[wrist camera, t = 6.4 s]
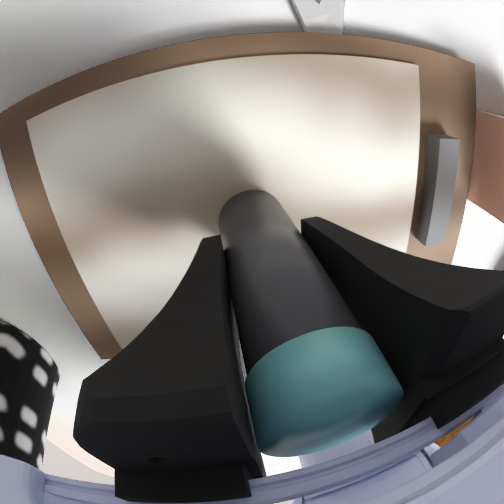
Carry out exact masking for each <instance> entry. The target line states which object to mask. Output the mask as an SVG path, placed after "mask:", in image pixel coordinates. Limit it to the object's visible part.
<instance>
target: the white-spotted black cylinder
mask: <svg viewBox="0 0 504 504" xmlns="http://www.w3.org/2000/svg"><path fill="white" fill-rule="evenodd" d="M58 381H59V371H58V368H57V366H56V364H55V362H54V361H53V359H52V358H51V357H50V355H49V354H48V353H47V352H46V351H45V350H44V349H43V348H42V347H41V346H40V345H39V344H38V343H37V342H36V341H35V340H33V339H32V338H31V337H29V336H28V335H27V334H25V333H24V332H22V331H21V330H19V329H17V328H16V327H14V326H12V325H10V324H8V323H5V322H2V321H0V455H4V456H7V457H10V458H13V459H17V460H20V461H23V462H25V463H28V464H30V465H32V466H34V467H36V468H38V469H39V470H41V471H42V463H43V455H44V448H45V442H46V436H47V430H48V425H49V420H50V415H51V410H52V406H53V401H54V397H55V393H56V389H57V385H58Z"/></svg>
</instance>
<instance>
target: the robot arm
mask: <svg viewBox="0 0 504 504" xmlns="http://www.w3.org/2000/svg"><path fill="white" fill-rule="evenodd" d="M301 235H302V236H303V237H304V239H305V240H306V242H307V243H308V245H309V246H310V248H311V249H312V251H313V252H314V254H315V256H316V257H317V259H318V260H319V262H320V263H321V265H322V266H323V268H324V269H325V271H326V272H327V274H328V275H329V277H330V279H331V280H332V282H333V283H334V285H335V286H336V288H337V290H338V291H339V293H340V294H341V296H342V298H343V299H344V301H345V302H346V304H347V306H348V307H349V309H350V310H351V312H352V314H353V315H354V317H355V319H356V320H357V322H358V323H359V325H360V327H361V328H362V330H364V331H366V332H367V333H369V334H370V335H371V336H372V338H373V339H374V341H375V342H376V344H377V346H378V347H379V349H380V351H381V352H382V354H383V356H384V358H385V359H386V361H387V363H388V364H389V366H390V368H391V369H392V371H393V373H394V375H395V376H396V378H397V380H398V382H399V383H400V385H401V387H402V389H403V391H404V395H403V398H402V400H401V402H400V403H399V405H398V406H397V407H396V409H395V410H394V411H393V412H392V413H391V414H390V415H389V416H388V417H386V418H385V419H384V420H383V421H382V422H380V423H379V424H377V425H376V426H375V427H373V428H372V429H370V430H368V431H367V432H365V433H363V434H361V435H360V436H358V437H356V438H354V439H352V440H350V441H347V442H345V443H343V444H340V445H338V446H335V447H332V448H329V449H326V450H323V451H319V452H315V453H311V454H306V455H300V456H299V458H300V462H301V465H302V469H298V470H294V471H290V472H286V473H282V474H277V475H272V476H268V477H266V472H265V468H264V464H263V460H262V456H261V452H260V451H259V449H258V447H257V443H256V438H255V434H254V429H253V425H252V420H251V415H250V410H249V406H248V401H247V396H246V391H245V382H244V378H243V373H242V368H241V361H240V352H239V341H238V330H237V324H236V319H235V313H234V308H233V303H232V298H231V292H230V287H229V281H228V273H227V265H226V259H225V254H224V249H223V244H222V239H221V234H220V235H215V236H211V237H206V238H203V239H202V240H201V242H200V244H199V247H198V249H197V251H196V254H195V256H194V258H193V260H192V262H191V264H190V266H189V268H188V270H187V271H186V273H185V275H184V277H183V278H182V280H181V282H180V283H179V285H178V287H177V288H176V290H175V291H174V293H173V294H172V296H171V297H170V299H169V300H168V302H167V303H166V304H165V306H164V307H163V308H162V310H161V311H160V312H159V313H158V314H157V315H156V316H155V317H154V319H153V320H152V321H151V322H150V323H149V324H148V325H147V326H146V327H145V328H144V330H143V331H142V332H141V333H140V334H139V335H138V336H137V337H136V338H135V339H134V340H132V341H131V342H130V343H129V344H128V345H127V346H126V347H125V348H124V349H123V350H121V351H120V352H119V353H118V354H117V355H116V356H114V357H113V358H112V359H111V360H109V361H108V362H107V363H105V364H104V365H103V366H101V367H100V368H99V369H98V370H96V371H95V372H94V373H92V374H91V375H90V376H88V377H87V378H85V379H84V380H83V382H82V385H81V389H80V393H79V398H78V403H77V409H76V416H75V422H74V429H73V437H74V439H75V440H76V442H77V443H78V444H79V446H80V447H81V448H83V449H84V450H85V451H87V452H88V453H89V454H91V455H93V456H94V457H96V458H97V459H99V460H101V461H102V462H104V463H106V464H107V465H109V466H111V467H113V468H114V469H115V485H108V484H100V483H92V482H85V481H79V480H72V479H67V478H62V477H58V476H53V475H49V474H45V473H43V472H42V471H41V470H39V469H38V468H36V467H34V466H32V465H30V464H28V463H25V462H23V461H20V460H17V459H13V458H10V457H7V456H4V455H0V504H274V503H279V502H283V501H287V500H292V499H294V500H293V502H292V503H291V504H504V339H503V338H502V337H503V335H504V271H497V270H486V269H474V268H468V267H461V266H455V265H450V264H445V263H440V262H436V261H432V260H428V259H424V258H420V257H417V256H413V255H410V254H407V253H404V252H401V251H398V250H395V249H392V248H390V247H387V246H384V245H382V244H380V243H377V242H375V241H372V240H370V239H368V238H365V237H363V236H361V235H359V234H356V233H354V232H352V231H350V230H348V229H346V228H343V227H341V226H339V225H337V224H335V223H333V222H330V221H328V220H326V219H323V218H321V217H318V216H315V217H310V218H304V219H301ZM472 417H473V418H472ZM471 418H472V421H471V422H470V423H469V424H468V425H466V426H465V427H464V428H462V429H461V430H460V431H459V432H458V433H457V434H456V435H455V436H454V437H453V438H452V439H451V440H449V441H448V442H447V443H446V444H445V445H443V446H442V447H441V448H440V447H439V446H438V445H437V444H435V443H434V442H436V441H437V440H439V439H441V438H442V437H444V436H446V435H447V434H449V433H450V432H452V431H453V430H455V429H457V428H458V427H460V426H461V425H462V424H464V423H465V422H467V421H468V420H470V419H471Z"/></svg>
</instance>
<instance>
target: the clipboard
mask: <svg viewBox="0 0 504 504" xmlns="http://www.w3.org/2000/svg"><path fill="white" fill-rule="evenodd" d="M475 114H476V86H475V65H474V64H473V63H470V62H468V61H465V60H462V59H459V58H456V57H453V56H450V55H446V54H443V53H440V52H436V51H432V50H429V49H425V48H421V47H417V46H412V45H408V44H403V43H398V42H393V41H388V40H382V39H376V38H369V37H362V36H354V35H344V34H332V33H314V32H268V33H250V34H238V35H228V36H220V37H212V38H206V39H199V40H193V41H188V42H182V43H177V44H173V45H168V46H163V47H159V48H155V49H151V50H147V51H143V52H140V53H136V54H133V55H129V56H126V57H123V58H119V59H116V60H113V61H110V62H107V63H104V64H102V65H99V66H96V67H93V68H91V69H88V70H86V71H83V72H81V73H78V74H76V75H73V76H71V77H69V78H66V79H64V80H62V81H60V82H57V83H55V84H53V85H51V86H49V87H47V88H45V89H43V90H41V91H39V92H37V93H35V94H33V95H31V96H29V97H27V98H26V99H24V100H22V101H20V102H18V103H17V104H15V105H13V106H12V107H10V108H8V109H7V110H5V111H3V112H2V113H0V149H1V153H2V157H3V160H4V164H5V167H6V171H7V174H8V177H9V180H10V184H11V187H12V190H13V193H14V195H15V198H16V201H17V204H18V207H19V209H20V212H21V214H22V217H23V220H24V222H25V224H26V227H27V229H28V232H29V234H30V236H31V239H32V241H33V243H34V245H35V247H36V250H37V252H38V254H39V256H40V258H41V260H42V262H43V264H44V266H45V268H46V270H47V272H48V274H49V276H50V278H51V280H52V282H53V283H54V285H55V287H56V289H57V291H58V293H59V294H60V296H61V298H62V300H63V301H64V303H65V305H66V306H67V308H68V310H69V311H70V313H71V315H72V316H73V318H74V319H75V321H76V323H77V324H78V326H79V327H80V329H81V330H82V332H83V333H84V335H85V336H86V338H87V339H88V341H89V342H90V344H91V345H92V347H93V348H94V349H95V351H96V352H97V354H98V355H99V356H100V358H101V359H111V358H113V357H114V356H116V355H117V354H118V353H119V352H120V351H121V350H123V349H124V348H125V347H126V346H127V345H128V344H129V343H130V342H131V341H132V340H134V339H135V338H136V337H137V336H138V335H139V334H140V333H141V332H142V331H143V330H144V328H145V327H146V326H147V325H148V324H149V323H150V322H151V321H152V320H153V319H154V317H155V316H156V315H157V314H158V313H159V312H160V311H161V310H162V308H163V307H164V306H165V304H166V303H167V302H168V300H169V299H170V297H171V296H172V294H173V293H174V291H175V290H176V288H177V287H178V285H179V283H180V282H181V280H182V278H183V277H184V275H185V273H186V271H187V270H188V268H189V266H190V264H191V262H192V260H193V258H194V256H195V254H196V251H197V249H198V247H199V244H200V242H201V240H202V239H203V238H206V237H211V236H215V235H220V231H219V224H218V223H219V215H220V212H221V210H222V208H223V206H224V205H225V203H226V202H227V201H228V200H229V199H230V198H232V197H233V196H234V195H236V194H238V193H241V192H243V191H247V190H260V191H264V192H267V193H269V194H271V195H273V196H274V197H275V198H276V199H277V200H278V201H279V203H280V204H281V205H282V207H283V208H284V210H285V211H286V213H287V214H288V215H289V217H290V218H291V220H292V221H293V223H294V224H295V226H296V227H297V229H298V230H299V232H300V233H301V219H304V218H310V217H315V216H318V217H321V218H323V219H326V220H328V221H330V222H333V223H335V224H337V225H339V226H341V227H343V228H346V229H348V230H350V231H352V232H354V233H356V234H359V235H361V236H363V237H365V238H368V239H370V240H372V241H375V242H377V243H380V244H382V245H384V246H387V247H390V248H392V249H395V250H398V251H401V252H404V253H407V254H410V255H413V256H417V257H420V258H424V259H428V260H432V261H436V262H440V263H445V264H450V265H451V262H452V259H453V255H454V251H455V248H456V244H457V240H458V236H459V232H460V228H461V224H462V219H463V214H464V209H465V204H466V199H467V193H468V187H469V181H470V174H471V166H472V158H473V148H474V135H475ZM237 330H238V329H237ZM238 340H239V334H238Z"/></svg>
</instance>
